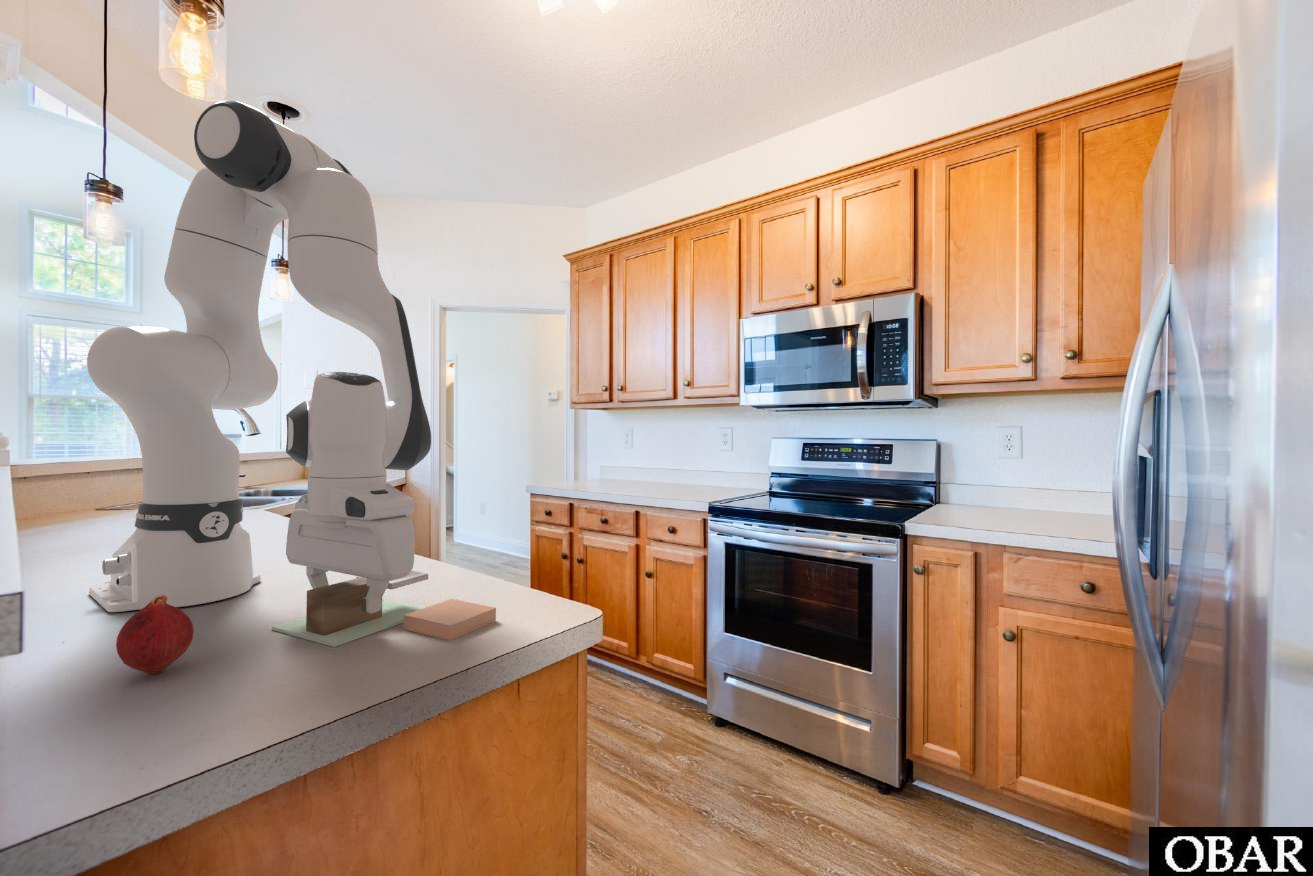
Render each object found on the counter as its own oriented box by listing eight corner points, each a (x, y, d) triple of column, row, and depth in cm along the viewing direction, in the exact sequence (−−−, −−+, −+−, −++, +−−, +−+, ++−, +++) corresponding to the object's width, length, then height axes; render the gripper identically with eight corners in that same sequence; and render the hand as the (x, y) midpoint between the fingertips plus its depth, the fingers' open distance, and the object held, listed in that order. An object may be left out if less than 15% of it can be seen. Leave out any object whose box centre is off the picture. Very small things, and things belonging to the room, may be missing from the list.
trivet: (271, 629, 70) (271, 626, 70) (371, 600, 82) (371, 597, 82) (334, 647, 65) (334, 643, 65) (430, 613, 77) (430, 610, 77)
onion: (146, 689, 53) (147, 606, 53) (99, 683, 55) (101, 602, 54) (206, 665, 59) (207, 590, 59) (163, 660, 60) (164, 586, 60)
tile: (404, 614, 71) (451, 598, 78) (403, 631, 71) (451, 613, 78) (450, 625, 68) (496, 607, 75) (450, 642, 68) (495, 623, 75)
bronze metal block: (297, 628, 69) (297, 588, 69) (393, 599, 82) (393, 565, 82) (333, 638, 66) (334, 596, 66) (427, 606, 79) (428, 571, 79)
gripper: (272, 495, 73) (271, 600, 73) (380, 506, 64) (378, 626, 64) (319, 491, 79) (318, 588, 79) (424, 501, 70) (422, 611, 70)
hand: (346, 605), depth 71 cm, fingers open, 8 cm apart
